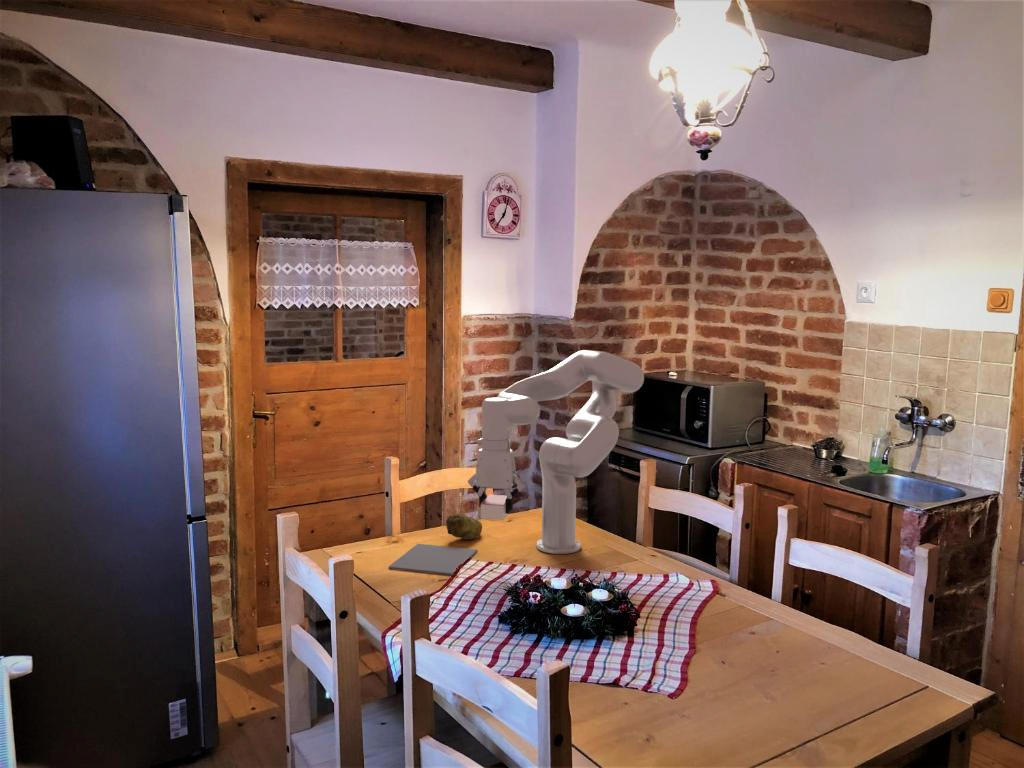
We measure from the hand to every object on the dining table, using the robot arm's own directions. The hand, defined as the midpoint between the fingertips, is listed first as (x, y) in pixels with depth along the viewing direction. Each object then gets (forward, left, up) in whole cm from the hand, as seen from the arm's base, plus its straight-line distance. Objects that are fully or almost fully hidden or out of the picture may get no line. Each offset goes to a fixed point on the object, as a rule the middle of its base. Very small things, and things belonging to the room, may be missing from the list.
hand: (496, 510), depth 219 cm
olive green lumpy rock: (-18, -15, -15) cm, 28 cm away
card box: (0, 0, -1) cm, 1 cm away
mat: (+2, -17, -15) cm, 22 cm away
